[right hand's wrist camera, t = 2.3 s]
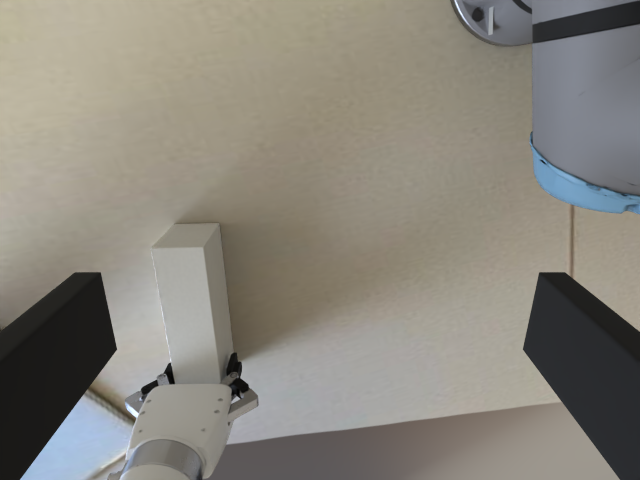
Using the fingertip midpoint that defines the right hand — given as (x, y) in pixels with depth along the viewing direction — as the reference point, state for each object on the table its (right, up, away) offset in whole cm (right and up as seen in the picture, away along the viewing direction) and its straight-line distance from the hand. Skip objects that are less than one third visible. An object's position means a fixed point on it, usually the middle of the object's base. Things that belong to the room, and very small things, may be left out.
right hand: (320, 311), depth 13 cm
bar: (-16, -6, +46) cm, 49 cm away
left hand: (-16, -15, +45) cm, 50 cm away
